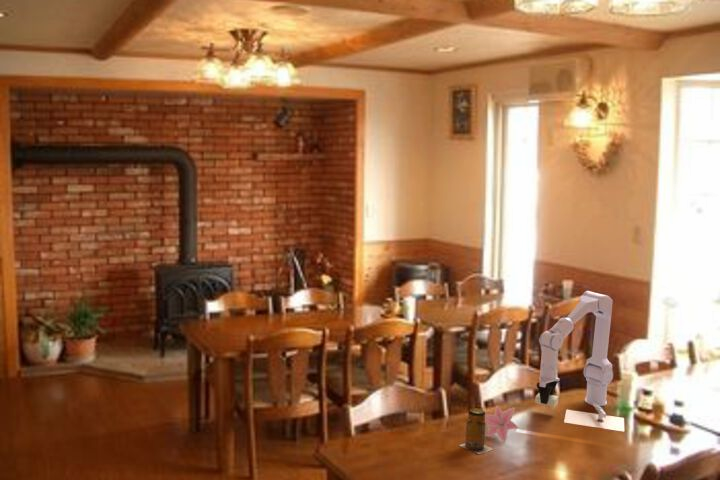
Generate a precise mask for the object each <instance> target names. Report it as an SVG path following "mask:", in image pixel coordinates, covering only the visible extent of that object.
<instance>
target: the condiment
mask: <svg viewBox="0 0 720 480" xmlns="http://www.w3.org/2000/svg"><path fill="white" fill-rule="evenodd" d="M467 414H468V415H467V419H466V424H465V425H466V426H465V439H464V443H462V444H459V445H458V446H460V447H461V448H464V449H466V450H469V451H471V452H473V453H474V454H475V453H476V454H478V455H481V454H484V453H488V452H489V451H490V452H491V451H493V450H494V448H492V447H490V446H488V445H486V444H485V441H486V440H485V439H486V437H485V436H486V425H487V423H486V420H485V416H486V412H485V410H483V409H481V408H470V409H468V413H467Z"/></svg>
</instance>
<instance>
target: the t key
mask: <svg viewBox="0 0 720 480" xmlns="http://www.w3.org/2000/svg"><path fill="white" fill-rule="evenodd" d="M592 406H593V407H594V408H595V410H596V411H597V414H598V421H603V417H604V418H606V415H607V413H606V412H605V411H604V409H603V407H602V406H600V405H599V404H598V403H597V402H593V405H592Z"/></svg>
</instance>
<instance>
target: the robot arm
mask: <svg viewBox="0 0 720 480" xmlns="http://www.w3.org/2000/svg"><path fill="white" fill-rule="evenodd" d="M613 301H614V300H613V299H612V298H611V297H610V296H609V295H608V294H601V293H597V292H594V291H590V290H586V291H584V293H583V294H582V295H580V297H579V302H578V303H577V304H576V306H575V307H573V309H572V310H571V312H570V313H569V314H568V315H567V316H566V317H561V318H559V319H558V320H557V322H556V323H555V324H554V325H553V326H552V327H551V328H550V329H548V330H546V331H544V332H542V333H541V334H540V335H539V336H540V337H539V338H538V342H539V345H540V351H541V357H540V358H541V359H540V369H539V370H540V371H539V377H538V378H539V382H537V383H536V388H537V390H538V394H540V400H541V403H543V404H547V403H548V399H549V395H553V396H554V392H555V389H556V386H557V385H558V383H559V381H560V378H559V377H557V373H558V372H557V370H558V361H559V360H558V359H559V349H561V348H562V347H563V344H564V341H565V338H567V336H569V334H570V333H571V332H573V330H574V329H575V327H574V325H575V324H576V323H577V322H579V320H581V318H583V317H584V316H585V315H587V314H588V313H592V314H593V315H594V316H595V324H594V333H593V341H592V342H593V343H592V352H591V357H589V358H587V359H586V361H585V365H584V367H583V376H584V378H586V379H585V381H587V382H586V396H585V398H584V401H585V403H586V404H588V405H591V406H593V402H597V403H598V404H599V405H600V407H603V406H606V405H607V402H608V401H607V394H608V393H607V392H608V386H609V385H610V383H612V381H613V378H614V372H613V364H612V363H611V362H610V361H609V359H608V350H609V340H610V334H611V333H610V331H611V322H612V312H613Z"/></svg>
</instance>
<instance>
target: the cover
mask: <svg viewBox="0 0 720 480" xmlns="http://www.w3.org/2000/svg"><path fill="white" fill-rule="evenodd" d="M558 403H559V396H558V395H554V394H553V395H549V399H548V403H547V404H543V403H541V400H540V394H539V393H537V394H536V395H535V399H534V404H537V405H543V406H548V407H551V408H555V407H556V406H557V405H558Z"/></svg>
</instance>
